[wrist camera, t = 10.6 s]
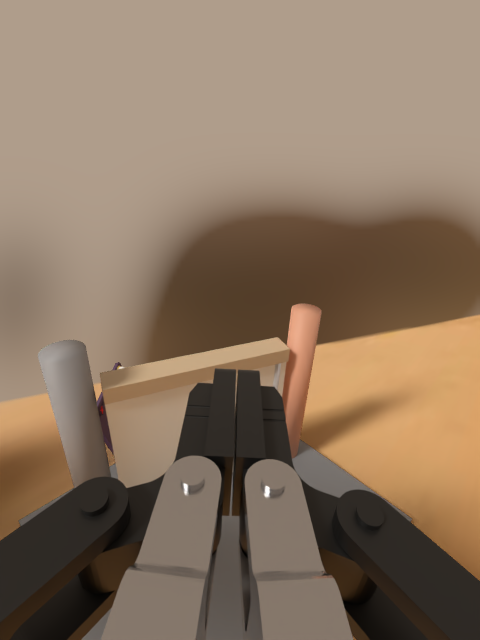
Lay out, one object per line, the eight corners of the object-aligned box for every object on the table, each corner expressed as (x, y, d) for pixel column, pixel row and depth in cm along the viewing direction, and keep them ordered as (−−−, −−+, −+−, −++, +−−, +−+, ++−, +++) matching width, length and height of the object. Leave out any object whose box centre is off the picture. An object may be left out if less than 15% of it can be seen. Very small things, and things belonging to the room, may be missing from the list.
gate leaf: (124, 513, 27) (102, 390, 21) (121, 493, 29) (99, 373, 23) (275, 459, 33) (289, 348, 27) (265, 444, 34) (277, 337, 29)
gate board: (177, 929, 14) (136, 870, 6) (21, 528, 27) (-53, 352, 20) (409, 525, 29) (482, 362, 21) (234, 399, 43) (239, 271, 35)
